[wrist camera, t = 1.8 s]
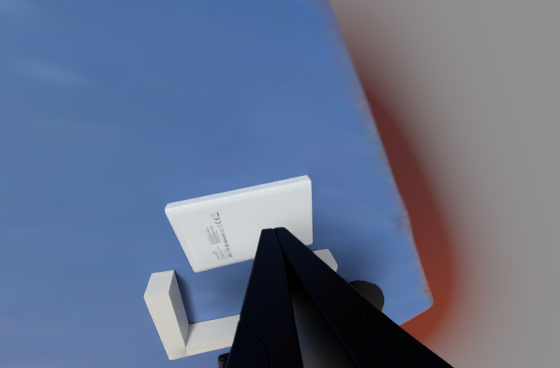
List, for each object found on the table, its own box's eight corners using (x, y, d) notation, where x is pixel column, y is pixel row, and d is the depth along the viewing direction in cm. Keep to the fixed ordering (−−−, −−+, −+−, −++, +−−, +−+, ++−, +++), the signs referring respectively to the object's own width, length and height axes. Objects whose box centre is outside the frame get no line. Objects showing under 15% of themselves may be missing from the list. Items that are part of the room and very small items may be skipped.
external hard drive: (308, 235, 24) (197, 262, 22) (305, 172, 20) (167, 200, 18) (313, 245, 22) (195, 275, 21) (311, 180, 18) (163, 211, 16)
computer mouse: (303, 324, 33) (312, 354, 29) (351, 275, 29) (368, 302, 26) (336, 328, 36) (347, 355, 33) (383, 284, 32) (401, 309, 29)
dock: (314, 307, 30) (320, 325, 28) (174, 336, 26) (169, 360, 24) (328, 248, 25) (337, 265, 23) (152, 273, 20) (143, 297, 18)
